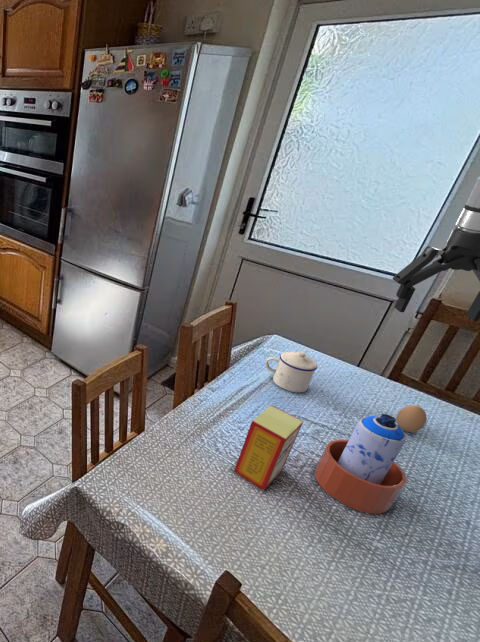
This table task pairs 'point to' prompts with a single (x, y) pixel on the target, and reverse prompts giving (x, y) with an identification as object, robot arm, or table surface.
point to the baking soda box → (267, 446)
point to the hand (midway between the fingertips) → (434, 314)
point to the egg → (411, 418)
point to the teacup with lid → (293, 371)
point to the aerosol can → (373, 448)
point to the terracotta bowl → (357, 482)
